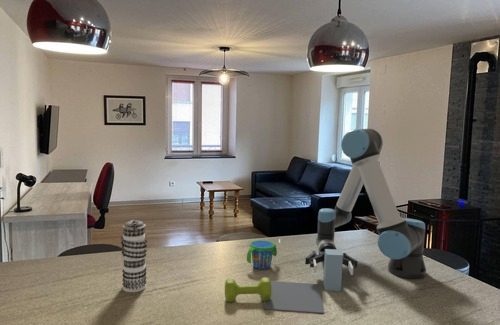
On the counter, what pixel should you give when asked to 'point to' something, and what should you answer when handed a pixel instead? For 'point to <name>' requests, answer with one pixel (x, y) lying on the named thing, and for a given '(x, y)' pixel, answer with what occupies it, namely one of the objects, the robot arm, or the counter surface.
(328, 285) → the block
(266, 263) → the snack cup
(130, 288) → the patterned white cylinder
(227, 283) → the dumbbell
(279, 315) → the counter surface
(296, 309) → the mat
